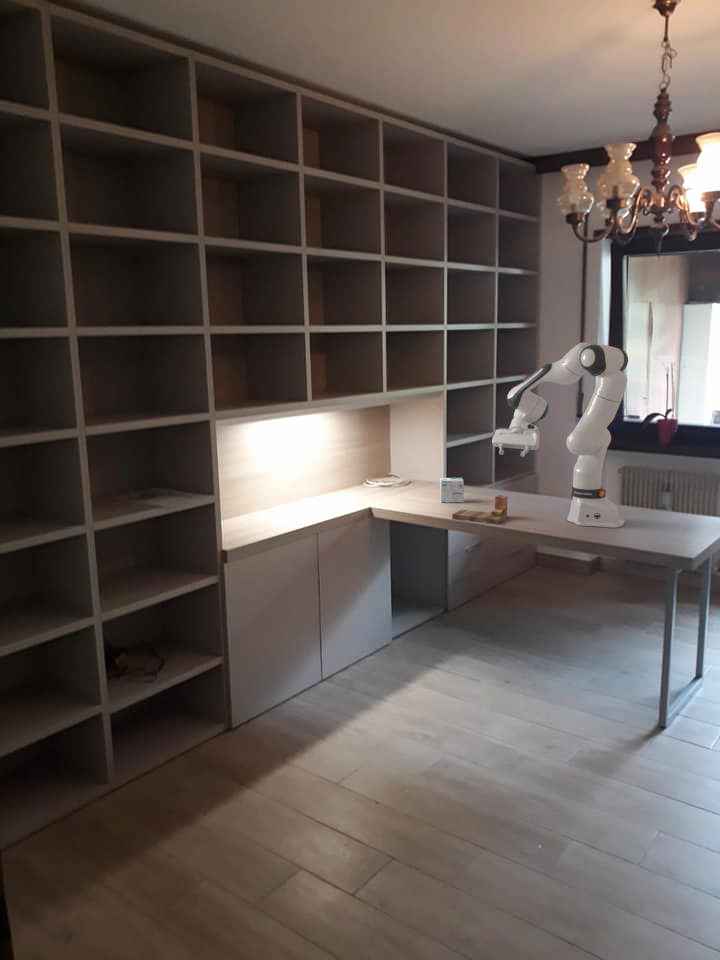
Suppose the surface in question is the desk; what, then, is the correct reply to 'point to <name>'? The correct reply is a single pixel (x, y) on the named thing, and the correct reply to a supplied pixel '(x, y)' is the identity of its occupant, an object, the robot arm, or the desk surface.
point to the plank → (478, 516)
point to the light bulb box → (451, 490)
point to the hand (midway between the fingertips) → (511, 454)
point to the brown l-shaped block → (500, 505)
